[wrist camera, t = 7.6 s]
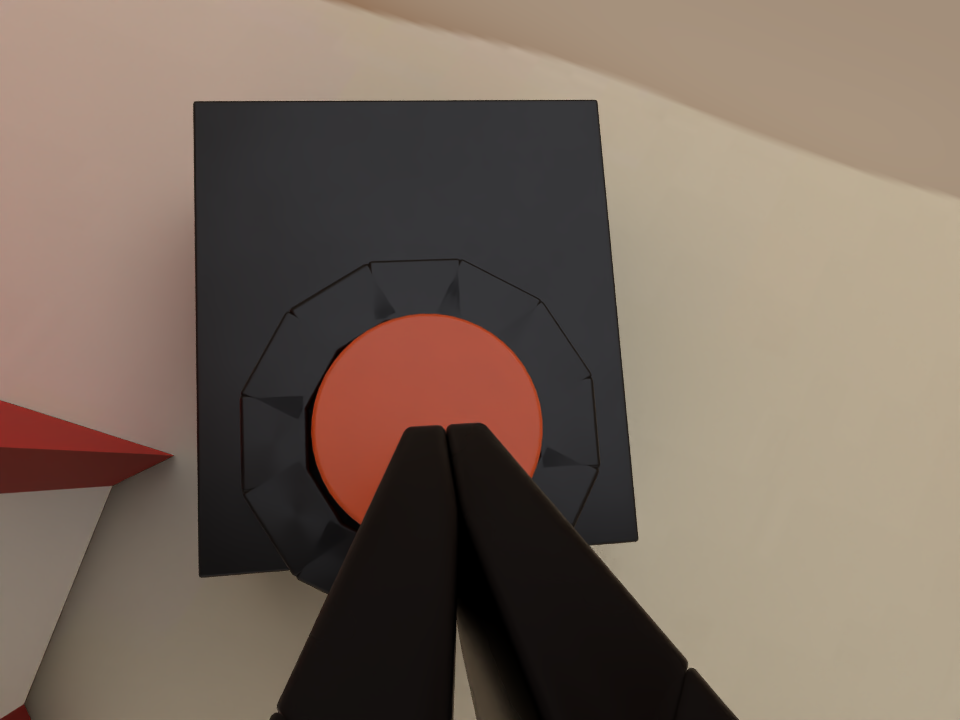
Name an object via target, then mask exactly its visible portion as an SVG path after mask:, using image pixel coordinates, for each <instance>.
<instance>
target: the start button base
mask: <svg viewBox="0 0 960 720" xmlns="http://www.w3.org/2000/svg"><path fill="white" fill-rule="evenodd" d="M193 126H194V212H195V298H196V385H197V471H198V557H199V577H201V578H205V577H217V576H229V575H241V574H253V573H265V572H277V571H289V570H290V571H291V573H292V575H294V576H296V578H297V579H298V580H300V581H302V582H304V583H306V584H308V585H310V586H312V587H314V588H316V589H318V590H320V591H322V592H324V593H326V594H329V592H330V589H331V587H332V585H333V583H334V581H335V579H336V576H337V574H338V572H339V570H340V568H341V566H342V564H343V561H344V559H345V557H346V555H347V553H348V551H349V548H350V546H351V544H352V542H353V540H354V538H355V536H356V533H357V531H358V529H359V527H360V524H359V523H358V522H356V521H355V520H354V519H352V518H351V517H350V516H349V515H348V514H347V513H346V512H345V511H344V510H343V509H342V508H341V507H340V506H339V505H338V504H337V502H336V501H335V499H334V498H333V497H332V495H331V494H330V493H329V491H328V489H327V487H326V486H325V484H324V482H323V480H322V478H321V475H320V473H319V470H318V468H317V465H316V461H315V457H314V453H313V447H312V437H311V424H312V414H313V408H314V402H315V399H316V396H317V393H318V389H319V387H320V385H321V383H322V380H323V378H324V376H325V374H326V373H327V371H328V369H329V368H330V366H331V365H332V363H333V361H334V360H335V359H336V358H337V357H338V355H339V354H340V353H341V352H342V351H343V350H344V349H345V348H346V347H347V346H348V345H349V344H350V343H351V342H352V341H353V340H354V339H356V338H357V337H359V336H360V335H361V334H363V333H364V332H366V331H367V330H369V329H371V328H373V327H375V326H377V325H378V324H381V323H383V322H386V321H388V320H391V319H394V318H398V317H402V316H407V315H414V314H441V315H448V316H453V317H457V318H460V319H464V320H467V321H469V322H472V323H474V324H476V325H479V326H481V327H482V328H484V329H486V330H487V331H489V332H491V333H492V334H494V335H495V336H496V337H498V338H499V339H500V340H501V341H503V342H504V343H505V344H506V345H507V346H508V347H509V348H510V349H511V350H512V351H513V352H514V353H515V354H516V356H517V357H518V358H519V360H520V361H521V362H522V364H523V365H524V367H525V368H526V370H527V372H528V374H529V375H530V377H531V379H532V382H533V384H534V386H535V389H536V391H537V395H538V398H539V402H540V406H541V413H542V420H543V437H542V446H541V452H540V456H539V460H538V464H537V467H536V469H535V472H534V474H533V477H532V479H533V481H534V482H535V483H536V484H537V485H538V486H539V488H540V489H541V490H542V491H543V492H544V493H545V495H546V496H547V497H548V498H549V499H550V500H551V502H552V503H553V504H554V505H555V506H556V507H557V509H558V510H559V511H560V512H561V513H562V515H563V516H564V517H565V518H566V519H567V520H568V522H569V523H570V524H571V525H572V526H573V527H574V529H575V530H576V531H577V532H578V533H579V534H580V536H581V537H582V538H583V539H584V540H585V541H586V543H587V544H588V545H589V546H590V545H602V544H614V543H626V542H636V541H638V529H637V519H636V508H635V497H634V487H633V476H632V465H631V455H630V444H629V433H628V423H627V412H626V402H625V391H624V380H623V370H622V359H621V348H620V338H619V327H618V316H617V306H616V295H615V284H614V274H613V263H612V252H611V242H610V231H609V220H608V210H607V199H606V188H605V178H604V167H603V156H602V146H601V135H600V124H599V114H598V103H597V100H452V101H195V102H194V104H193Z"/></svg>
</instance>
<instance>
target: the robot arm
mask: <svg viewBox="0 0 960 720" xmlns="http://www.w3.org/2000/svg"><path fill="white" fill-rule="evenodd" d="M456 622H457V626H458V632H459V638H460V643H461V649H462V654H463V658H464V663H465V668H466V672H467V677H468V682H469V686H470V691H471V695H472V700H473V705H474V709H475V714H476V719H477V720H739V719H738V718H737V717H736V716H735V715H734V714H733V713H732V711H731V710H730V709H729V708H728V707H727V706H726V705H725V704H724V703H723V701H722V700H721V699H720V698H719V697H718V695H717V694H716V693H715V692H714V691H713V690H712V688H711V687H710V686H709V685H708V684H707V682H706V681H705V680H704V679H703V678H702V677H701V675H700V674H699V673H698V672H697V671H696V670H695V669H694V668H689V669H688V670H687V667H688V661H687V660H686V658H685V657H684V656H683V655H682V654H681V652H680V651H679V650H678V649H677V648H676V647H675V645H674V644H673V643H672V642H671V641H670V640H669V638H668V637H667V636H666V635H665V634H664V633H663V631H662V630H661V629H660V628H659V627H658V626H657V624H656V623H655V622H654V621H653V620H652V619H651V617H650V616H649V615H648V614H647V613H646V612H645V610H644V609H643V608H642V607H641V606H640V605H639V603H638V602H637V601H636V600H635V599H634V597H633V596H632V595H631V594H630V593H629V592H628V590H627V589H626V588H625V587H624V586H623V585H622V583H621V582H620V581H619V580H618V579H617V578H616V576H615V575H614V574H613V573H612V572H611V571H610V569H609V568H608V567H607V566H606V565H605V564H604V562H603V561H602V560H601V559H600V558H599V557H598V555H597V554H596V553H595V552H594V551H593V550H592V548H591V547H590V546H589V545H588V544H587V543H586V541H585V540H584V539H583V538H582V537H581V536H580V534H579V533H578V532H577V531H576V530H575V529H574V527H573V526H572V525H571V524H570V523H569V522H568V520H567V519H566V518H565V517H564V516H563V515H562V513H561V512H560V511H559V510H558V509H557V507H556V506H555V505H554V504H553V503H552V502H551V500H550V499H549V498H548V497H547V496H546V495H545V493H544V492H543V491H542V490H541V489H540V488H539V486H538V485H537V484H536V483H535V482H534V481H533V479H532V478H531V477H530V476H529V475H528V474H527V472H526V471H525V470H524V469H523V468H522V467H521V465H520V464H519V463H518V462H517V461H516V460H515V458H514V457H513V456H512V455H511V454H510V453H509V451H508V450H507V449H506V448H505V447H504V446H503V444H502V443H501V442H500V441H499V440H498V439H497V437H496V436H495V435H494V434H493V433H492V432H491V430H490V429H489V428H488V427H487V426H486V425H485V424H483V423H479V422H476V423H460V424H450V425H449V426H447V428H446V430H445V429H444V428H443V427H442V426H441V425H427V426H411V427H408V428H407V429H406V430H405V431H404V432H403V434H402V436H401V439H400V441H399V443H398V445H397V447H396V449H395V452H394V454H393V456H392V458H391V460H390V462H389V464H388V467H387V469H386V471H385V473H384V475H383V477H382V480H381V482H380V484H379V486H378V488H377V490H376V492H375V495H374V497H373V499H372V501H371V503H370V505H369V508H368V510H367V512H366V514H365V516H364V518H363V520H362V523H361V525H360V527H359V529H358V531H357V533H356V536H355V538H354V540H353V542H352V544H351V546H350V548H349V551H348V553H347V555H346V557H345V559H344V561H343V564H342V566H341V568H340V570H339V572H338V574H337V576H336V579H335V581H334V583H333V585H332V587H331V589H330V592H329V594H328V596H327V598H326V600H325V602H324V604H323V607H322V609H321V611H320V613H319V615H318V617H317V620H316V622H315V624H314V626H313V628H312V630H311V633H310V635H309V637H308V639H307V641H306V643H305V645H304V648H303V650H302V652H301V654H300V656H299V658H298V661H297V663H296V665H295V667H294V669H293V671H292V673H291V676H290V678H289V680H288V682H287V684H286V686H285V689H284V691H283V693H282V695H281V697H280V699H279V701H278V704H277V710H278V713H274V714H273V715H272V716H271V718H270V720H453V716H454V687H455V658H456Z"/></svg>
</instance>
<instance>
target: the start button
mask: <svg viewBox="0 0 960 720" xmlns="http://www.w3.org/2000/svg"><path fill="white" fill-rule="evenodd" d="M476 422H479V423H483V424H485V425H486V426H487V427H488V428H489V429H490V430H491V432H492V433H493V434H494V435H495V436H496V437H497V439H498V440H499V441H500V442H501V443H502V444H503V446H504V447H505V448H506V449H507V450H508V451H509V453H510V454H511V455H512V456H513V457H514V458H515V460H516V461H517V462H518V463H519V464H520V465H521V467H522V468H523V469H524V470H525V471H526V472H527V474H528V475H529V476H530V477H531V478H532V477H533V474H534V472H535V469H536V467H537V464H538V460H539V456H540V452H541V446H542V437H543V420H542V413H541V406H540V402H539V398H538V395H537V391H536V389H535V386H534V384H533V382H532V379H531V377H530V375H529V374H528V372H527V370H526V368H525V367H524V365H523V364H522V362H521V361H520V360H519V358H518V357H517V356H516V354H515V353H514V352H513V351H512V350H511V349H510V348H509V347H508V346H507V345H506V344H505V343H504V342H503V341H501V340H500V339H499V338H498V337H496V336H495V335H494V334H492V333H491V332H489V331H487V330H486V329H484V328H482V327H481V326H479V325H476V324H474V323H472V322H469V321H467V320H464V319H460V318H457V317H453V316H448V315H441V314H414V315H407V316H402V317H398V318H394V319H391V320H388V321H386V322H383V323H381V324H378V325H377V326H375V327H373V328H371V329H369V330H367V331H366V332H364V333H363V334H361V335H360V336H359V337H357V338H356V339H354V340H353V341H352V342H351V343H350V344H349V345H348V346H347V347H346V348H345V349H344V350H343V351H342V352H341V353H340V354H339V355H338V357H337V358H336V359H335V360H334V361H333V363H332V365H331V366H330V368H329V369H328V371H327V373H326V374H325V376H324V378H323V380H322V383H321V385H320V387H319V389H318V393H317V396H316V399H315V402H314V408H313V414H312V424H311V437H312V447H313V453H314V457H315V461H316V465H317V468H318V470H319V473H320V475H321V478H322V480H323V482H324V484H325V486H326V487H327V489H328V491H329V493H330V494H331V495H332V497H333V498H334V499H335V501H336V502H337V504H338V505H339V506H340V507H341V508H342V509H343V510H344V511H345V512H346V513H347V514H348V515H349V516H350V517H351V518H352V519H354V520H355V521H356V522H358V523H359V524H360V525H361V523H362V520H363V518H364V516H365V514H366V512H367V510H368V508H369V505H370V503H371V501H372V499H373V497H374V495H375V492H376V490H377V488H378V486H379V484H380V482H381V480H382V477H383V475H384V473H385V471H386V469H387V467H388V464H389V462H390V460H391V458H392V456H393V454H394V452H395V449H396V447H397V445H398V443H399V441H400V439H401V436H402V434H403V432H404V431H405V430H406V429H407V428H408V427H411V426H427V425H441V426H442V427H443V428H444V429H445V430H446V428H447V426H449V425H450V424H460V423H476Z"/></svg>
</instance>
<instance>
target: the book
mask: <svg viewBox="0 0 960 720" xmlns="http://www.w3.org/2000/svg"><path fill="white" fill-rule="evenodd" d="M172 456H174V455H171V454H168V453H165V452H162V451H159V450H155V449H152V448H149V447H146V446H143V445H140V444H137V443H133V442H130V441H127V440H124V439H121V438H118V437H114V436H111V435H108V434H105V433H102V432H99V431H96V430H92V429H89V428H86V427H83V426H80V425H77V424H73V423H70V422H67V421H64V420H61V419H58V418H55V417H51V416H48V415H45V414H42V413H39V412H36V411H32V410H29V409H26V408H23V407H20V406H17V405H14V404H10V403H7V402H4V401H1V400H0V720H31V718H30V716H29V714H28V712H27V709H26V707H25V705H24V703H25V700H26V698H27V695H28V693H29V690H30V688H31V685H32V683H33V680H34V678H35V675H36V673H37V670H38V668H39V666H40V663H41V661H42V658H43V656H44V653H45V651H46V648H47V646H48V643H49V641H50V638H51V636H52V633H53V631H54V628H55V626H56V624H57V621H58V619H59V616H60V614H61V611H62V609H63V606H64V604H65V601H66V599H67V596H68V594H69V591H70V589H71V587H72V584H73V582H74V579H75V577H76V574H77V572H78V569H79V567H80V564H81V562H82V559H83V557H84V554H85V552H86V549H87V547H88V545H89V542H90V540H91V537H92V535H93V532H94V530H95V527H96V525H97V522H98V520H99V517H100V515H101V512H102V510H103V508H104V505H105V503H106V500H107V498H108V495H109V493H110V490H111V488H112V486H113V485H115V484H117V483H119V482H121V481H123V480H125V479H127V478H129V477H131V476H133V475H135V474H137V473H139V472H141V471H143V470H146V469H148V468H150V467H152V466H154V465H156V464H158V463H160V462H162V461H164V460H166V459H168V458H170V457H172Z"/></svg>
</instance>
